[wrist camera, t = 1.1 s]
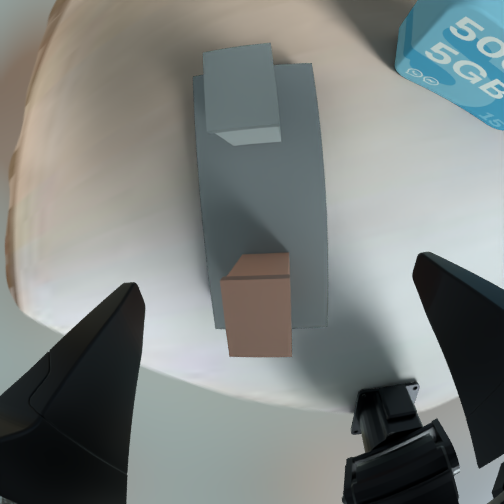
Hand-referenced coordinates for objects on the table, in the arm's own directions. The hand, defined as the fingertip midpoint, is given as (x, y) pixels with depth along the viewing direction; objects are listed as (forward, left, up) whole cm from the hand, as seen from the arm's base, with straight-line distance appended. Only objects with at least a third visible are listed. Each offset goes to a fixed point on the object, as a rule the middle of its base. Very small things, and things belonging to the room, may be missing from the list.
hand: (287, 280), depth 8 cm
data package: (+12, -15, -13) cm, 24 cm away
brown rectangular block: (-3, +2, -13) cm, 14 cm away
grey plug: (+8, +2, -13) cm, 15 cm away
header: (+2, +2, -13) cm, 13 cm away
